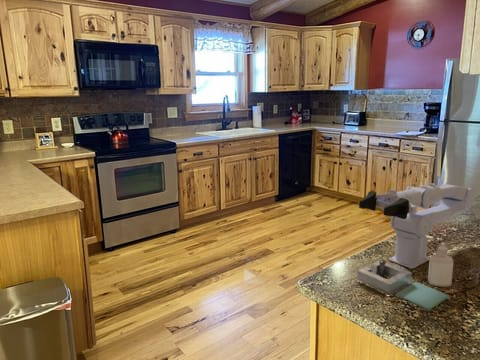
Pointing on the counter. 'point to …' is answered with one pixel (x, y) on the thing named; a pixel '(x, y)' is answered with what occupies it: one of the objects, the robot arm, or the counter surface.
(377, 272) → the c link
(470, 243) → the counter surface
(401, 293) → the mat
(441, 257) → the eye dropper bottle
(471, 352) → the counter surface
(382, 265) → the pin
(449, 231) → the counter surface
